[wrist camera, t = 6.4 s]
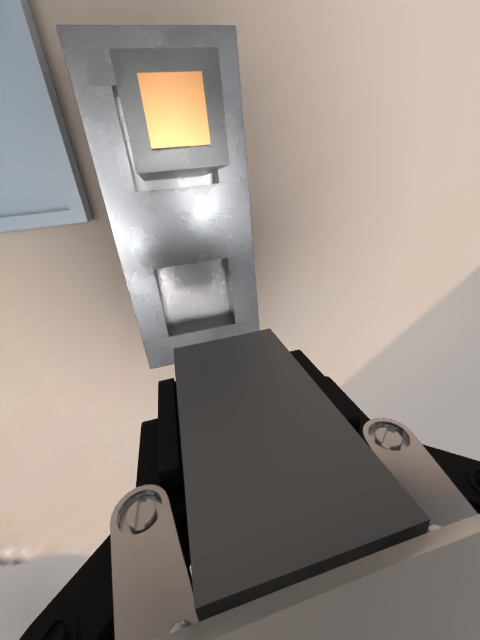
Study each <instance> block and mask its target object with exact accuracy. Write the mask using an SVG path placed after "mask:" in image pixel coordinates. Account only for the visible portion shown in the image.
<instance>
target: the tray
mask: <svg viewBox="0 0 480 640" xmlns="http://www.w3.org/2000/svg"><path fill="white" fill-rule="evenodd" d="M91 220H93V217H92V213H91V210H90V207H89V203H88V200H87V196H86V193H85V190H84V186H83V183H82V180H81V176H80V173H79V169H78V166H77V163H76V159H75V156H74V153H73V149H72V146H71V143H70V139H69V136H68V132H67V129H66V126H65V122H64V119H63V116H62V112H61V109H60V105H59V102H58V99H57V95H56V92H55V89H54V85H53V82H52V79H51V75H50V72H49V68H48V65H47V62H46V58H45V55H44V52H43V48H42V45H41V41H40V38H39V35H38V31H37V28H36V25H35V21H34V18H33V15H32V11H31V8H30V4H29V1H28V0H0V232H7V231H16V230H24V229H32V228H41V227H49V226H57V225H66V224H74V223H83V222H89V221H91Z"/></svg>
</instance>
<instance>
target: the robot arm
mask: <svg viewBox="0 0 480 640" xmlns="http://www.w3.org/2000/svg"><path fill="white" fill-rule="evenodd" d="M290 353H291V354H292V356H293V357H294V358H295V359H296V360H297V361H298V363H299V364H300V365H301V366H302V367H303V369H304V370H305V371H306V372H307V373H308V375H309V376H310V377H311V378H312V379H313V380H314V382H315V383H316V384H317V385H318V386H319V388H320V389H321V390H322V391H323V392H324V394H325V395H326V396H327V397H328V398H329V399H330V401H331V402H332V403H333V404H334V405H335V407H336V408H337V409H338V410H339V411H340V413H341V414H342V415H343V416H344V417H345V418H346V420H347V421H348V422H349V423H350V424H351V426H352V427H353V428H354V429H355V430H356V432H357V433H358V434H359V435H360V436H361V437H362V439H363V440H364V441H365V442H366V443H367V445H368V446H369V447H370V448H371V449H372V451H373V452H374V453H375V454H376V455H377V456H378V458H379V459H380V460H381V461H382V462H383V464H384V465H385V466H386V467H387V468H388V470H389V471H390V472H391V473H392V474H393V475H394V477H395V478H396V479H397V480H398V481H399V483H400V484H401V485H402V486H403V487H404V489H405V490H406V491H407V492H408V493H409V494H410V496H411V497H412V498H413V499H414V500H415V502H416V503H417V504H418V505H419V506H420V508H421V509H422V510H423V511H424V512H425V513H426V515H427V516H428V517H429V518H430V519H431V520H430V524H429V527H428V531H427V533H426V534H423V535H421V536H418V537H415V538H413V539H410V540H408V541H405V542H402V543H400V544H397V545H394V546H392V547H389V548H387V549H384V550H381V551H379V552H376V553H374V554H371V555H369V556H366V557H363V558H361V559H358V560H356V561H353V562H350V563H348V564H345V565H343V566H340V567H338V568H335V569H332V570H330V571H327V572H325V573H322V574H320V575H317V576H314V577H312V578H309V579H307V580H304V581H302V582H299V583H296V584H294V585H291V586H289V587H286V588H284V589H281V590H279V591H276V592H273V593H271V594H268V595H266V596H263V597H261V598H258V599H256V600H253V601H251V602H248V603H246V604H243V605H241V606H238V607H236V608H233V609H230V610H228V611H225V612H223V613H220V614H218V615H215V616H213V617H210V618H208V619H205V620H203V621H200V622H199V621H198V618H197V615H196V612H195V607H194V595H193V583H192V574H191V571H190V565H191V558H190V546H189V534H188V522H187V510H186V497H185V485H184V473H183V461H182V449H181V436H180V424H179V412H178V400H177V388H176V381H174V378H171V379H167V380H162V381H159V383H158V418H157V419H153V420H149V421H145V422H142V425H141V435H140V446H139V458H138V469H137V481H136V488H135V489H133V490H132V491H130V492H128V493H127V494H126V495H125V496H124V497H123V498H122V499H121V500H120V501H119V503H118V504H117V505H116V507H115V509H114V511H113V513H112V516H111V522H110V535H109V536H108V537H107V539H106V540H105V541H104V542H103V543H102V544H101V545H100V547H99V548H98V549H97V550H96V551H95V552H94V553H93V555H92V556H91V557H90V558H89V559H88V560H87V561H86V563H85V564H84V565H83V566H82V567H81V568H80V569H79V570H78V572H77V573H76V574H75V575H74V576H73V577H72V578H71V580H70V581H69V582H68V583H67V584H66V585H65V586H64V587H63V589H62V590H61V591H60V592H59V593H58V594H57V595H56V597H55V598H54V599H53V600H52V601H51V602H50V603H49V605H48V606H47V607H46V608H45V609H44V610H43V611H42V613H41V614H40V615H39V616H38V617H37V618H36V619H35V620H34V622H33V623H32V624H31V625H30V626H29V628H28V629H27V630H26V632H25V633H24V634H23V635H22V637H21V638H20V639H19V640H480V461H477V460H473V459H470V458H467V457H463V456H460V455H456V454H453V453H450V452H446V451H443V450H440V449H436V448H432V447H429V446H426V445H423V444H421V443H420V441H419V440H418V439H417V437H416V436H415V435H414V434H413V432H412V431H411V430H410V429H409V428H407V427H406V426H405V425H403V424H401V423H400V422H397V421H395V420H392V419H387V418H375V419H371V420H370V419H369V418H368V417H367V416H366V415H365V414H364V413H363V412H362V411H361V410H360V409H359V408H358V407H357V406H356V405H355V403H354V402H353V401H352V400H351V399H350V398H349V397H348V396H347V395H346V394H345V393H344V392H343V391H342V390H341V389H340V388H339V387H338V386H337V384H336V383H335V382H334V381H333V380H332V379H331V378H329V377H327V376H326V377H325V376H324V375H323V374H322V373H321V372H320V371H319V370H318V369H317V368H316V367H315V365H314V364H313V363H312V362H311V361H310V360H309V359H308V358H307V357H306V356H305V355H304V354H303V353H302V351H300V350H295V351H291V352H290Z"/></svg>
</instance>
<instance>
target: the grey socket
mask: <svg viewBox="0 0 480 640" xmlns="http://www.w3.org/2000/svg"><path fill="white" fill-rule="evenodd" d="M56 28H57V31H58V35H59V39H60V42H61V46H62V50H63V53H64V57H65V61H66V64H67V68H68V71H69V75H70V79H71V82H72V86H73V90H74V93H75V97H76V101H77V104H78V108H79V111H80V115H81V119H82V122H83V126H84V130H85V133H86V137H87V141H88V144H89V148H90V151H91V155H92V159H93V162H94V166H95V170H96V173H97V177H98V181H99V184H100V188H101V192H102V195H103V199H104V202H105V206H106V210H107V213H108V217H109V221H110V224H111V228H112V232H113V235H114V239H115V242H116V246H117V250H118V253H119V257H120V261H121V264H122V268H123V272H124V275H125V279H126V282H127V286H128V290H129V293H130V297H131V301H132V304H133V308H134V312H135V315H136V319H137V323H138V326H139V330H140V333H141V337H142V341H143V344H144V348H145V352H146V355H147V359H148V363H149V366H150V369H153V368H158V367H162V366H167V365H171V364H175V363H174V351H173V349H174V348H178V347H183V346H188V345H193V344H198V343H203V342H207V341H212V340H217V339H222V338H227V337H232V336H236V335H241V334H246V333H251V332H256V331H259V318H258V306H257V293H256V280H255V267H254V254H253V241H252V229H251V216H250V203H249V190H248V177H247V164H246V151H245V139H244V126H243V113H242V100H241V87H240V74H239V62H238V49H237V36H236V26H225V25H56Z"/></svg>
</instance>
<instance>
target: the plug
mask: <svg viewBox="0 0 480 640" xmlns="http://www.w3.org/2000/svg"><path fill="white" fill-rule="evenodd" d="M173 351H174V363H175V375H176V388H177V400H178V412H179V424H180V436H181V449H182V461H183V473H184V485H185V497H186V510H187V522H188V534H189V546H190V558H191V569H192V570H191V571H192V583H193V595H194V607H195V612H196V615H197V618H198V621H199V622H200V621H203V620H205V619H208V618H210V617H213V616H215V615H218V614H220V613H223V612H225V611H228V610H230V609H233V608H236V607H238V606H241V605H243V604H246V603H248V602H251V601H253V600H256V599H258V598H261V597H263V596H266V595H268V594H271V593H273V592H276V591H279V590H281V589H284V588H286V587H289V586H291V585H294V584H296V583H299V582H302V581H304V580H307V579H309V578H312V577H314V576H317V575H320V574H322V573H325V572H327V571H330V570H332V569H335V568H338V567H340V566H343V565H345V564H348V563H350V562H353V561H356V560H358V559H361V558H363V557H366V556H369V555H371V554H374V553H376V552H379V551H381V550H384V549H387V548H389V547H392V546H394V545H397V544H400V543H402V542H405V541H408V540H410V539H413V538H415V537H418V536H421V535H423V534H426V533H427V531H428V527H429V524H430V520H431V519H430V518H429V517H428V516H427V515H426V513H425V512H424V511H423V510H422V509H421V508H420V506H419V505H418V504H417V503H416V502H415V500H414V499H413V498H412V497H411V496H410V494H409V493H408V492H407V491H406V490H405V489H404V487H403V486H402V485H401V484H400V483H399V481H398V480H397V479H396V478H395V477H394V475H393V474H392V473H391V472H390V471H389V470H388V468H387V467H386V466H385V465H384V464H383V462H382V461H381V460H380V459H379V458H378V456H377V455H376V454H375V453H374V452H373V451H372V449H371V448H370V447H369V446H368V445H367V443H366V442H365V441H364V440H363V439H362V437H361V436H360V435H359V434H358V433H357V432H356V430H355V429H354V428H353V427H352V426H351V424H350V423H349V422H348V421H347V420H346V418H345V417H344V416H343V415H342V414H341V413H340V411H339V410H338V409H337V408H336V407H335V405H334V404H333V403H332V402H331V401H330V399H329V398H328V397H327V396H326V395H325V394H324V392H323V391H322V390H321V389H320V388H319V386H318V385H317V384H316V383H315V382H314V380H313V379H312V378H311V377H310V376H309V375H308V373H307V372H306V371H305V370H304V369H303V367H302V366H301V365H300V364H299V363H298V361H297V360H296V359H295V358H294V357H293V356H292V354H291V353H290V352H289V351H288V350H287V348H286V347H285V346H284V345H283V344H282V342H281V341H280V340H279V339H278V338H277V337H276V335H275V334H274V333H273V332H272V331H271V329H265V330H260V331H256V332H251V333H246V334H241V335H236V336H232V337H227V338H222V339H217V340H212V341H207V342H203V343H198V344H193V345H188V346H183V347H178V348H174V349H173Z"/></svg>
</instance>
